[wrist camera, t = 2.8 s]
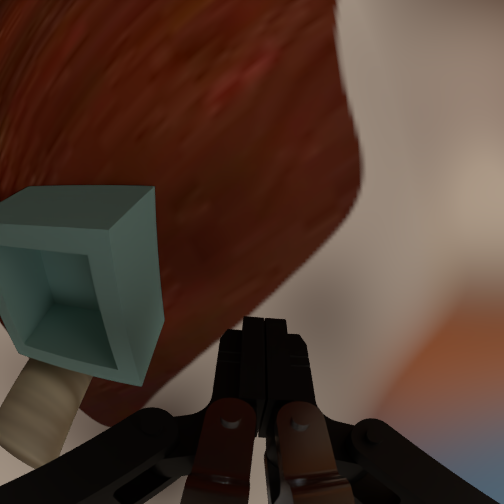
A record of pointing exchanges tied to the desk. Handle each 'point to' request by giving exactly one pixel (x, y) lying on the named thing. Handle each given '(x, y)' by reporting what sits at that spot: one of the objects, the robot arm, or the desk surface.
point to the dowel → (40, 411)
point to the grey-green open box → (82, 277)
